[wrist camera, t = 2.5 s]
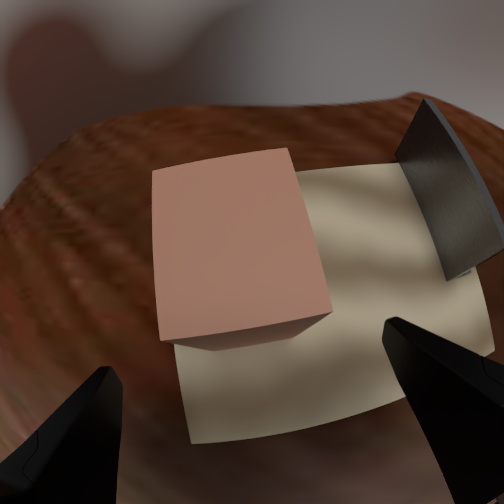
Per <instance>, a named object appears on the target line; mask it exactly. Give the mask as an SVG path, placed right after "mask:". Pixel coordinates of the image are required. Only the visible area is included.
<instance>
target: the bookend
mask: <svg viewBox="0 0 504 504" xmlns="http://www.w3.org/2000/svg"><path fill="white" fill-rule="evenodd" d="M394 155H395V157H396V159H397V161H398V162H399V164H400V166H401V168H402V170H403V172H404V174H405V176H406V178H407V181H408V183H409V185H410V187H411V189H412V191H413V193H414V196H415V198H416V200H417V202H418V205H419V207H420V209H421V212H422V214H423V217H424V219H425V221H426V224H427V227H428V229H429V232H430V234H431V237H432V240H433V242H434V245H435V248H436V251H437V254H438V257H439V260H440V263H441V266H442V269H443V272H444V275H445V279H446V282H447V281H450V280H453V279H456V278H459V277H462V276H465V275H468V274H470V273H472V272H471V269H473V268H475V267H477V266H478V265H480V264H482V263H483V262H485V261H487V260H488V259H490V258H492V257H493V256H495V255H497V254H498V253H500V252H501V251H503V250H504V225H503V222H502V220H501V218H500V215H499V213H498V211H497V208H496V206H495V204H494V202H493V200H492V198H491V195H490V193H489V191H488V189H487V187H486V185H485V183H484V181H483V179H482V178H481V176H480V174H479V172H478V170H477V168H476V167H475V165H474V163H473V161H472V159H471V158H470V156H469V154H468V153H467V151H466V149H465V148H464V146H463V145H462V143H461V141H460V140H459V138H458V137H457V135H456V134H455V132H454V131H453V129H452V128H451V126H450V125H449V123H448V122H447V120H446V119H445V118H444V116H443V115H442V113H441V112H440V111H439V109H438V108H437V107H436V105H435V104H434V103H433V101H432V100H431V99H425V98H423V100H422V102H421V104H420V106H419V108H418V110H417V112H416V114H415V116H414V118H413V120H412V122H411V124H410V126H409V128H408V130H407V132H406V134H405V136H404V137H403V139H402V141H401V143H400V145H399V147H398V149H397V150H396V152H395V154H394Z"/></svg>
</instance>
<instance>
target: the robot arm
mask: <svg viewBox="0 0 504 504" xmlns="http://www.w3.org/2000/svg"><path fill="white" fill-rule="evenodd" d="M382 344H383V346H384V349H385V351H386V354H387V356H388V358H389V361H390V363H391V366H392V368H393V371H394V374H395V376H396V378H397V381H398V383H399V385H400V387H401V388H402V390H403V392H404V394H405V396H406V398H407V400H408V402H409V404H410V406H411V408H412V410H413V412H414V414H415V416H416V418H417V420H418V422H419V424H420V426H421V428H422V430H423V432H424V434H425V436H426V438H427V440H428V442H429V445H430V447H431V449H432V451H433V453H434V455H435V458H436V460H437V462H438V464H439V466H440V469H441V471H442V473H443V476H444V478H445V481H446V483H447V485H448V488H449V490H450V493H451V495H452V498H453V500H454V503H455V504H487V503H488V502H490V501H492V500H493V499H495V498H496V500H497V502H496V503H494V504H504V365H502V364H499V363H497V362H495V361H493V360H490V359H488V358H486V357H484V356H482V355H481V356H480V355H479V354H477V353H475V352H473V351H471V350H469V349H467V348H464V347H462V346H460V345H458V344H456V343H454V342H451V341H449V340H447V339H445V338H443V337H441V336H439V335H436V334H434V333H432V332H430V331H428V330H426V329H424V328H421V327H419V326H417V325H415V324H413V323H411V322H408V321H406V320H404V319H402V318H400V317H397V316H395V317H391V318H388V319H386V320H385V322H384V328H383V334H382ZM122 400H123V385H122V382H121V381H120V379H119V377H118V376H117V374H116V373H115V371H114V369H113V368H112V367H110V366H102V367H99V368H98V369H97V370H96V371H95V372H94V373H93V374H92V375H91V376H90V377H89V378H88V379H87V380H86V381H85V382H84V383H83V384H82V385H81V386H80V387H79V388H78V389H77V390H76V391H75V392H74V393H73V394H72V395H71V396H70V397H69V398H68V399H67V400H66V401H65V402H64V403H63V404H62V405H61V406H60V407H59V408H58V409H57V410H56V411H55V412H54V413H53V414H52V415H51V416H50V417H49V418H48V419H47V420H46V421H45V422H44V423H43V424H42V425H41V426H40V427H39V428H38V430H36V431H35V432H34V433H33V434H32V435H31V436H30V437H29V438H28V439H27V440H26V441H25V442H24V443H23V444H22V445H21V446H19V447H18V448H17V449H16V450H15V451H14V452H13V453H11V454H10V455H9V456H8V457H7V458H6V459H4V460H3V461H2V462H1V463H0V504H116V490H117V473H118V460H119V449H120V439H121V430H122Z"/></svg>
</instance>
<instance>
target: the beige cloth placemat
mask: <svg viewBox="0 0 504 504" xmlns="http://www.w3.org/2000/svg"><path fill="white" fill-rule="evenodd" d="M295 174H296V177H297V180H298V183H299V186H300V190H301V193H302V196H303V199H304V203H305V206H306V209H307V213H308V216H309V220H310V223H311V227H312V230H313V234H314V237H315V241H316V245H317V248H318V252H319V256H320V260H321V263H322V267H323V271H324V275H325V279H326V283H327V287H328V291H329V295H330V300H331V304H332V308H333V312H332V313H330V314H329V315H327V316H326V317H325V318H323V319H322V320H320V321H319V322H317V323H316V324H314V325H312V326H311V327H309V328H308V329H306V330H305V331H303V332H302V333H300V334H299V335H297V336H295V337H294V338H290V339H285V340H280V341H275V342H269V343H264V344H258V345H252V346H246V347H240V348H234V349H227V350H220V351H208V350H203V349H198V348H192V347H187V346H182V345H177V344H174V349H175V356H176V363H177V369H178V376H179V382H180V388H181V394H182V399H183V405H184V410H185V415H186V420H187V425H188V430H189V435H190V439H191V444H201V443H215V442H226V441H235V440H243V439H250V438H257V437H264V436H270V435H275V434H281V433H286V432H291V431H296V430H300V429H305V428H309V427H313V426H317V425H321V424H325V423H329V422H333V421H336V420H340V419H343V418H346V417H350V416H353V415H356V414H359V413H362V412H365V411H368V410H371V409H374V408H377V407H380V406H383V405H385V404H388V403H391V402H393V401H396V400H398V399H401V398H403V397H406V396H405V394H404V392H403V390H402V388H401V387H400V385H399V383H398V381H397V378H396V376H395V374H394V371H393V368H392V366H391V363H390V361H389V358H388V356H387V354H386V351H385V349H384V346H383V344H382V334H383V328H384V322H385V320H386V319H388V318H391V317H395V316H397V317H400V318H402V319H404V320H406V321H408V322H411V323H413V324H415V325H417V326H419V327H421V328H424V329H426V330H428V331H430V332H432V333H434V334H436V335H439V336H441V337H443V338H445V339H447V340H449V341H451V342H454V343H456V344H458V345H460V346H462V347H464V348H467V349H469V350H471V351H473V352H475V353H477V354H479V355H480V356H481V355H482V356H484V357H485V356H487V355H488V354H490V353H491V352H493V351H495V348H494V341H493V336H492V330H491V325H490V321H489V316H488V312H487V307H486V303H485V299H484V295H483V292H482V288H481V284H480V281H479V277H478V274H477V271H476V268H473V269H471V272H472V273H470V274H468V275H465V276H462V277H459V278H456V279H453V280H450V281H447V282H446V279H445V275H444V272H443V269H442V266H441V263H440V260H439V257H438V254H437V251H436V248H435V245H434V242H433V240H432V237H431V234H430V232H429V229H428V227H427V224H426V221H425V219H424V217H423V214H422V212H421V209H420V207H419V205H418V202H417V200H416V198H415V196H414V193H413V191H412V189H411V187H410V185H409V183H408V181H407V178H406V176H405V174H404V172H403V170H402V168H401V166H400V164H399V163H391V164H375V165H361V166H349V167H338V168H328V169H318V170H309V171H301V172H295Z"/></svg>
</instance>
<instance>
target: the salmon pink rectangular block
mask: <svg viewBox="0 0 504 504" xmlns="http://www.w3.org/2000/svg"><path fill="white" fill-rule="evenodd" d="M152 235H153V261H154V278H155V292H156V305H157V315H158V325H159V334H160V341H164V342H168V343H173V344H177V345H182V346H187V347H192V348H198V349H203V350H208V351H220V350H227V349H234V348H240V347H246V346H252V345H258V344H264V343H269V342H275V341H280V340H285V339H290V338H294V337H295V336H297V335H299V334H300V333H302V332H303V331H305V330H306V329H308V328H309V327H311V326H312V325H314V324H316V323H317V322H319V321H320V320H322V319H323V318H325V317H326V316H327V315H329V314H330V313H332V312H333V308H332V304H331V300H330V295H329V291H328V287H327V283H326V279H325V275H324V271H323V267H322V263H321V260H320V256H319V252H318V248H317V245H316V241H315V237H314V234H313V230H312V227H311V223H310V220H309V216H308V213H307V209H306V206H305V203H304V199H303V196H302V193H301V190H300V186H299V183H298V180H297V177H296V174H295V170H294V167H293V164H292V161H291V158H290V155H289V152H288V149H287V148H280V149H272V150H264V151H257V152H250V153H243V154H237V155H230V156H224V157H218V158H213V159H207V160H202V161H197V162H192V163H187V164H182V165H177V166H172V167H168V168H163V169H159V170H154V171H153V173H152Z"/></svg>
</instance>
